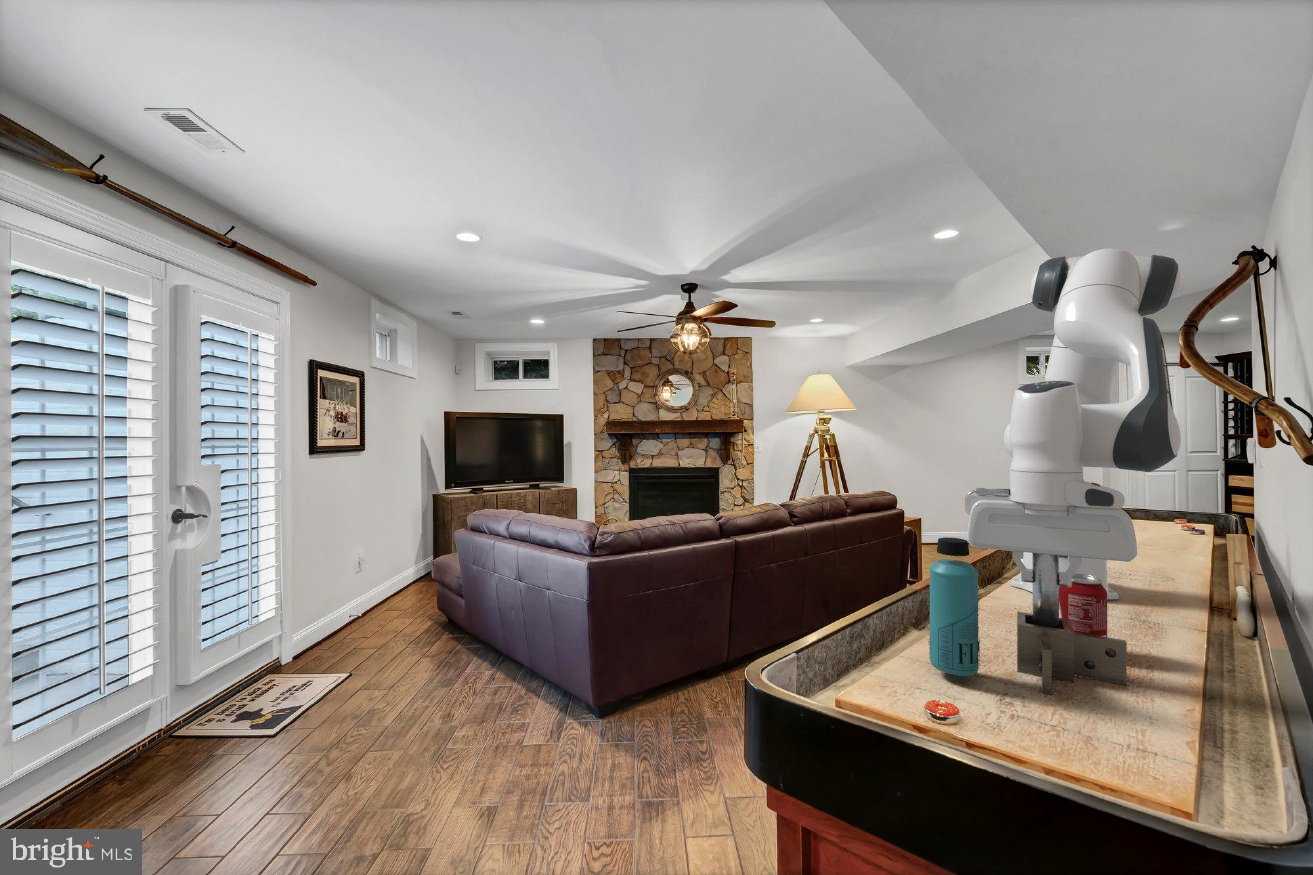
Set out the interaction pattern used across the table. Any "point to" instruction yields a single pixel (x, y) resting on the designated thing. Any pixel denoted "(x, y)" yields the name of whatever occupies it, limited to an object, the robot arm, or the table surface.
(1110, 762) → the table surface
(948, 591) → the beverage bottle
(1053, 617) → the pin
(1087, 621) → the soda can
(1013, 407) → the robot arm
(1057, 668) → the grey metal bracket
